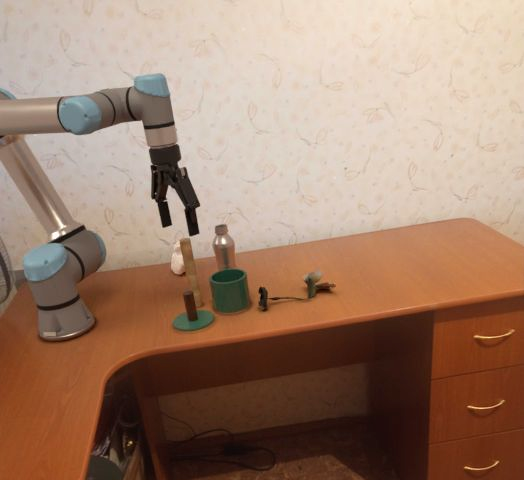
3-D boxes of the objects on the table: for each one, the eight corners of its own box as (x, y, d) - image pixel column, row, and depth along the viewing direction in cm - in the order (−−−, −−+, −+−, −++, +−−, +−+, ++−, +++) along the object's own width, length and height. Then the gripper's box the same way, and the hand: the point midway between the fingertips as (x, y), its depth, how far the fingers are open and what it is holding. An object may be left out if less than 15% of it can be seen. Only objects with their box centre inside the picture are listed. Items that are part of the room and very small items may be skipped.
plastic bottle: (238, 294, 159) (229, 229, 149) (217, 294, 161) (206, 230, 151) (243, 285, 165) (235, 222, 155) (223, 285, 166) (212, 223, 156)
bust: (187, 282, 178) (203, 252, 175) (167, 273, 174) (182, 243, 171) (180, 271, 188) (194, 242, 185) (161, 262, 184) (175, 233, 181)
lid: (164, 326, 146) (157, 296, 142) (196, 310, 153) (190, 280, 148) (191, 337, 139) (185, 305, 134) (223, 319, 146) (217, 289, 141)
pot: (207, 309, 153) (201, 278, 148) (232, 295, 159) (228, 266, 154) (232, 318, 146) (227, 286, 141) (258, 303, 152) (254, 272, 148)
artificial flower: (255, 308, 153) (252, 273, 150) (329, 300, 158) (327, 266, 155) (262, 312, 144) (260, 275, 142) (340, 304, 149) (339, 268, 147)
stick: (190, 306, 156) (177, 240, 146) (197, 302, 158) (185, 237, 148) (196, 308, 154) (184, 242, 144) (204, 304, 156) (192, 238, 146)
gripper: (204, 144, 122) (219, 234, 133) (152, 140, 140) (168, 219, 150) (176, 151, 118) (194, 243, 129) (126, 145, 136) (145, 226, 146)
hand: (180, 230), depth 140 cm, fingers open, 13 cm apart
